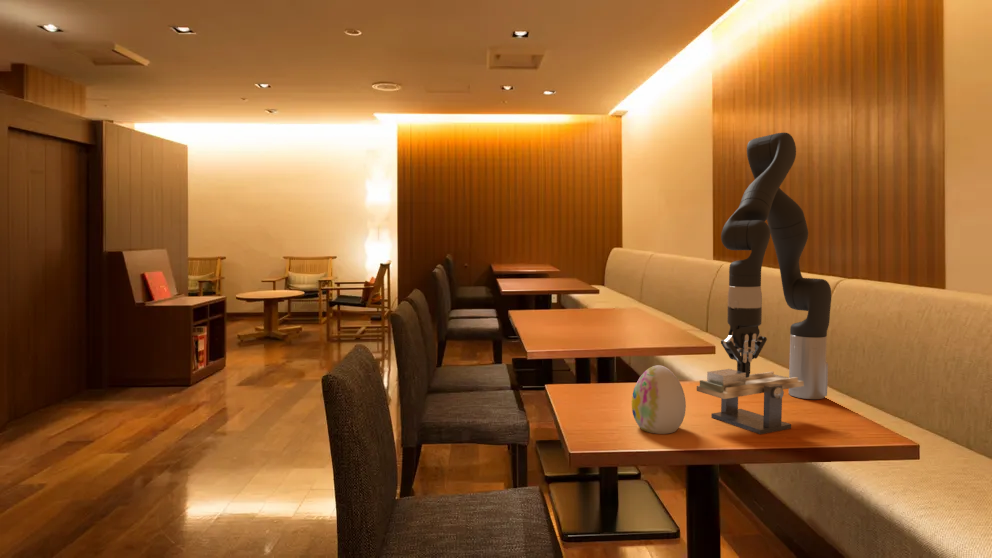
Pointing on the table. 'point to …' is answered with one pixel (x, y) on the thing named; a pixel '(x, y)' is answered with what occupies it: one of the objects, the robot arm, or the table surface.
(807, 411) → the table surface
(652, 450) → the table surface
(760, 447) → the table surface
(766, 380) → the beam
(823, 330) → the robot arm
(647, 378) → the decorative egg
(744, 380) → the rider
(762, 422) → the stand
